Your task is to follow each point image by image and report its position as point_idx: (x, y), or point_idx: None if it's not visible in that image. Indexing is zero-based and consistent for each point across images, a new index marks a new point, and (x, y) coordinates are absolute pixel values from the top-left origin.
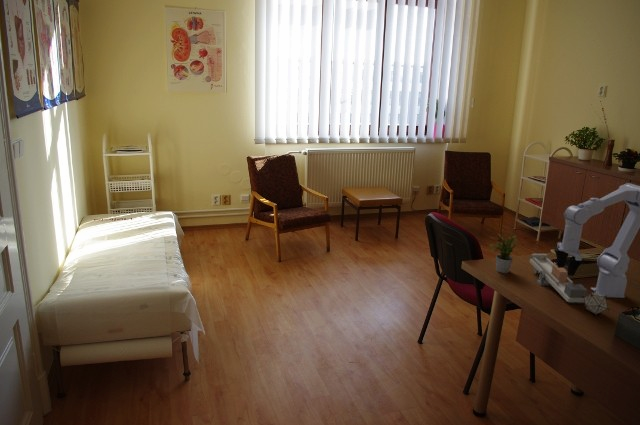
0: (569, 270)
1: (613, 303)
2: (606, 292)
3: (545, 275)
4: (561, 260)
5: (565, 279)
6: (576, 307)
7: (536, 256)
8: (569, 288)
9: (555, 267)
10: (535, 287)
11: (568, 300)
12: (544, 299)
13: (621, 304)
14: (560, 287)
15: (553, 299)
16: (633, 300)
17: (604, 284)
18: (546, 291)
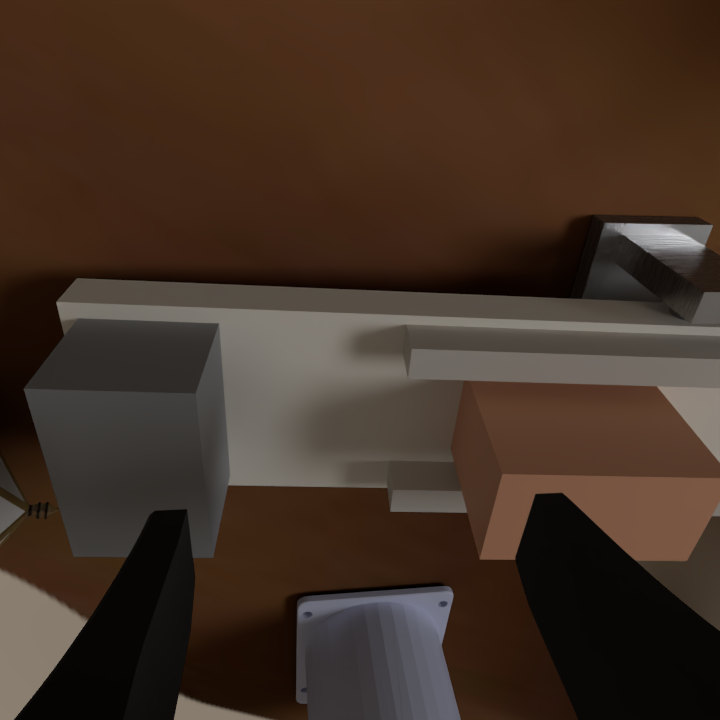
0: (103, 609)
1: (199, 619)
2: (316, 649)
3: (674, 319)
4: (598, 651)
5: (461, 468)
6: (33, 331)
7: None
8: (82, 382)
9: (656, 475)
10: (561, 116)
11: (68, 293)
12: (197, 34)
13: (190, 651)
14: (341, 341)
15: (214, 170)
16: (265, 715)
17: (341, 699)
18: (438, 201)
